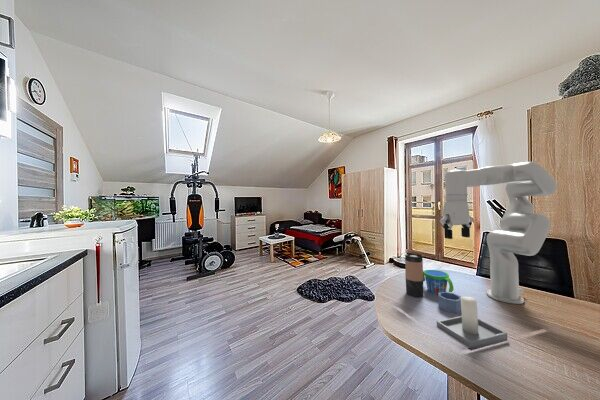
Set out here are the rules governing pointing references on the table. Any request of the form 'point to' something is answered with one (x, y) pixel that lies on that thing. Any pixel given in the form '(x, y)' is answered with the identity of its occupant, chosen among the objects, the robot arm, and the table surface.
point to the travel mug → (414, 275)
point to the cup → (449, 302)
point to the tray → (482, 339)
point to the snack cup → (437, 281)
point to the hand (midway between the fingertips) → (457, 237)
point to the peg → (469, 315)
